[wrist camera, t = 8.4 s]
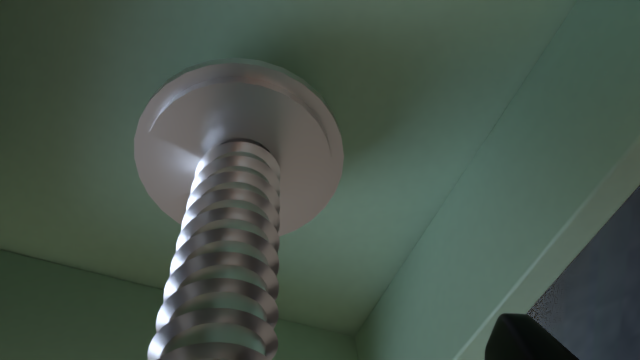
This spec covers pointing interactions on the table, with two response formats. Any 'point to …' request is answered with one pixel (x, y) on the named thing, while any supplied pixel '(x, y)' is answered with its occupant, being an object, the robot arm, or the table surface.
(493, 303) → the open square box
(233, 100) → the screw
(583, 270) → the table surface
